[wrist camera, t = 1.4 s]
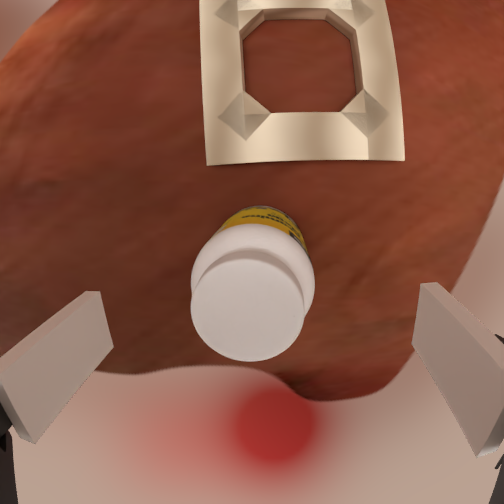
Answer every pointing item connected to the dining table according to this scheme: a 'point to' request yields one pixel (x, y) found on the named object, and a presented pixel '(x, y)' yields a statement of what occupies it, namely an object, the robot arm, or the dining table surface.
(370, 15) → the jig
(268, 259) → the pill bottle
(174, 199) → the dining table surface
